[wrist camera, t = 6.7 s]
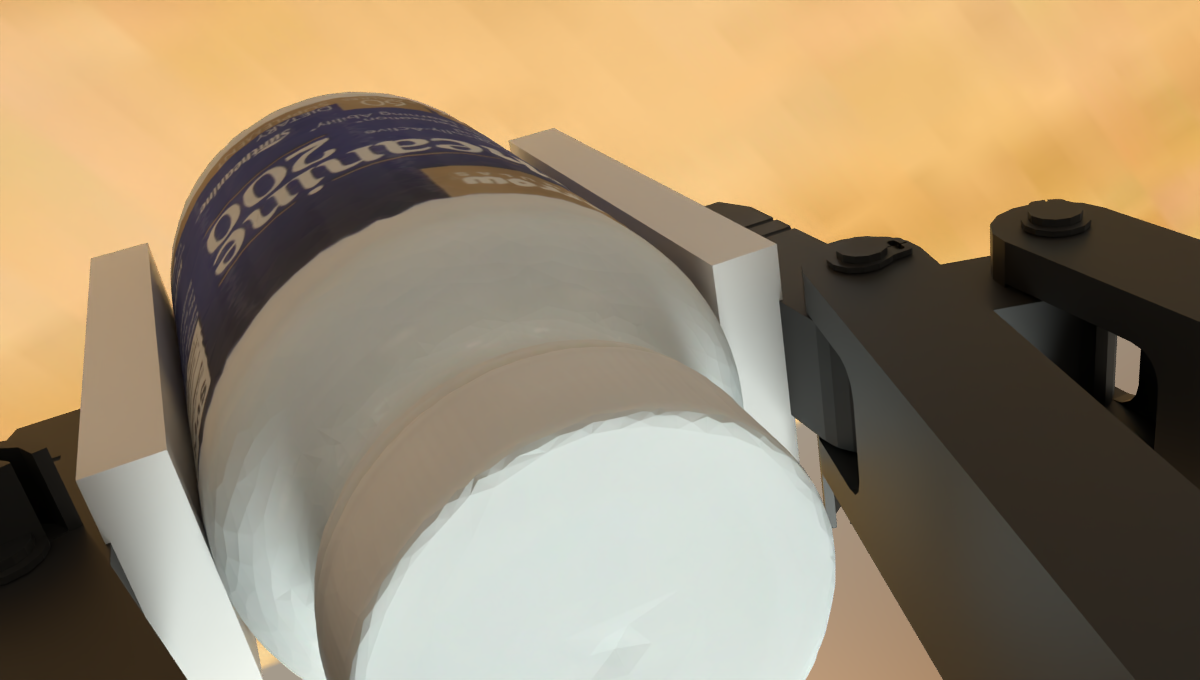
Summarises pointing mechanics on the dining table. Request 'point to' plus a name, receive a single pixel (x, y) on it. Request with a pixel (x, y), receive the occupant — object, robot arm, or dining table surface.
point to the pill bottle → (473, 421)
